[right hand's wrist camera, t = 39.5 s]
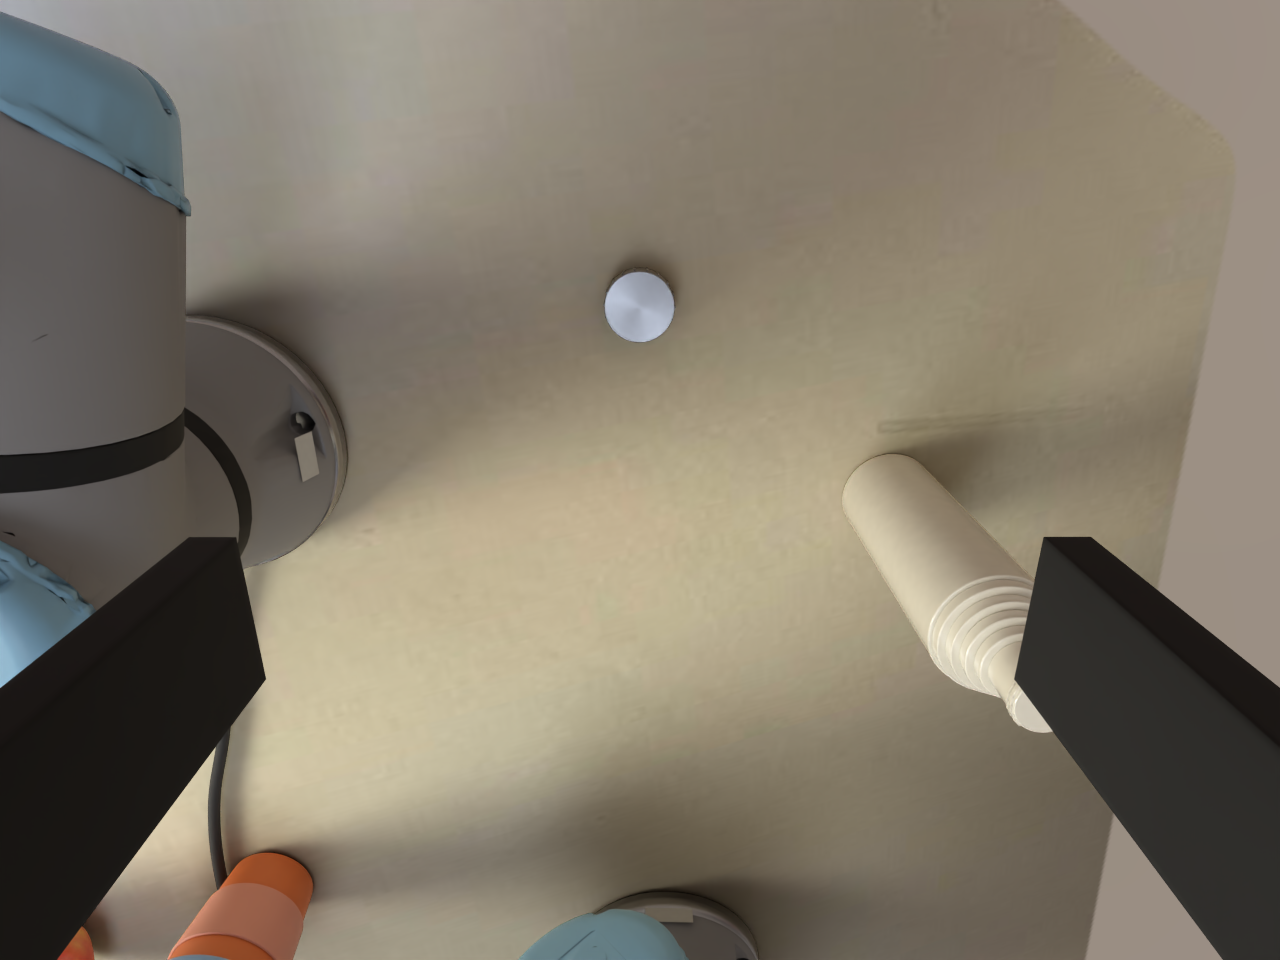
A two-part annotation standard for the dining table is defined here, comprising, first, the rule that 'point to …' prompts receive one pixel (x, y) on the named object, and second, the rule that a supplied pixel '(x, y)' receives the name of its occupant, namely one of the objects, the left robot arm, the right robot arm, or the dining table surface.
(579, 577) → the dining table surface
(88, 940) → the apple
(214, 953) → the cup with straw
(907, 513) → the bottle
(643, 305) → the cap
